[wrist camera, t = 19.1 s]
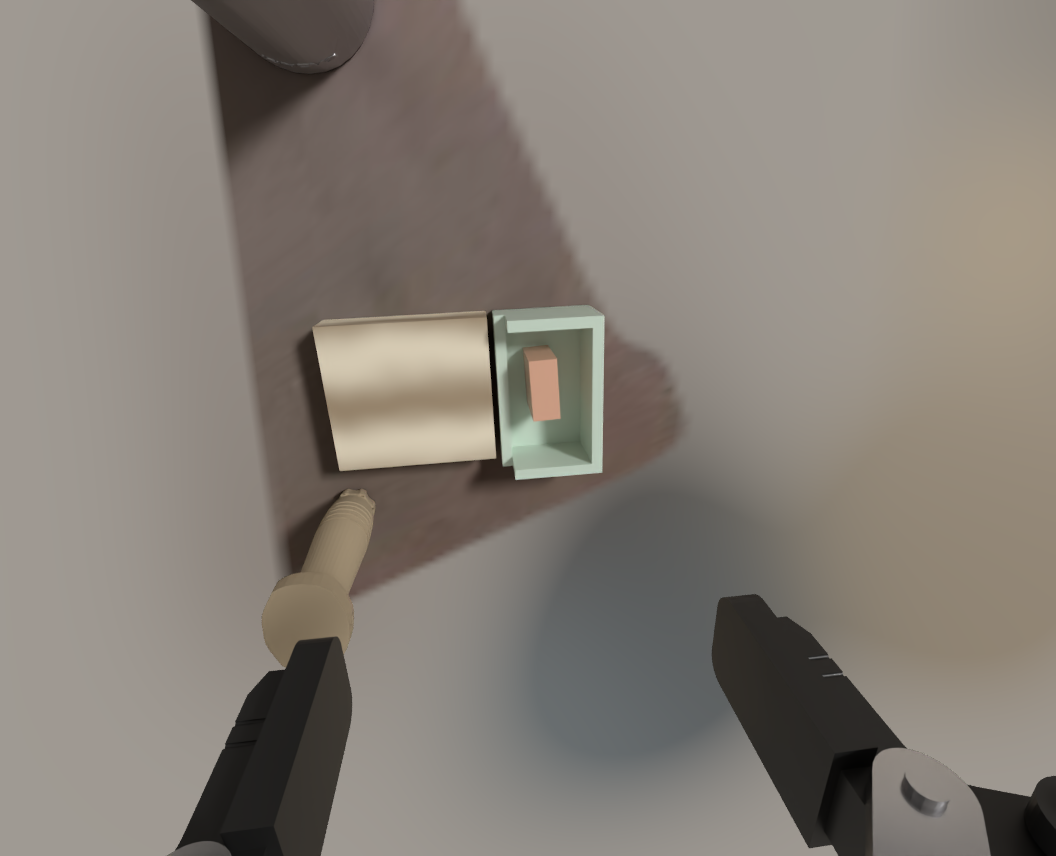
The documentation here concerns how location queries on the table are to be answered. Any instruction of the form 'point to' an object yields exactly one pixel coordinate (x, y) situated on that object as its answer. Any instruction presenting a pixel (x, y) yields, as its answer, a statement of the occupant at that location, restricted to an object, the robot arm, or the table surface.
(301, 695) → the robot arm
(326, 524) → the handle
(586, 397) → the box
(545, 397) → the tile
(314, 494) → the table surface
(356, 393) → the cream flat slab
